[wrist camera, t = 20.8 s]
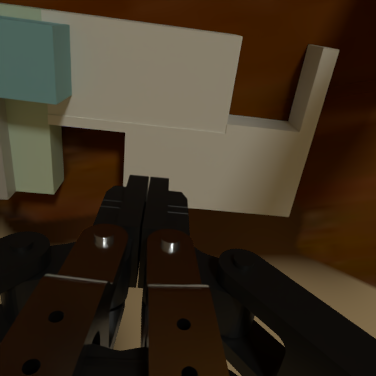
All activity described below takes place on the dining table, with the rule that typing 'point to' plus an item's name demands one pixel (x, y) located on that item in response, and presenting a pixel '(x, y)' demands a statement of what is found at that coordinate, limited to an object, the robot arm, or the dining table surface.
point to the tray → (165, 115)
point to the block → (34, 60)
